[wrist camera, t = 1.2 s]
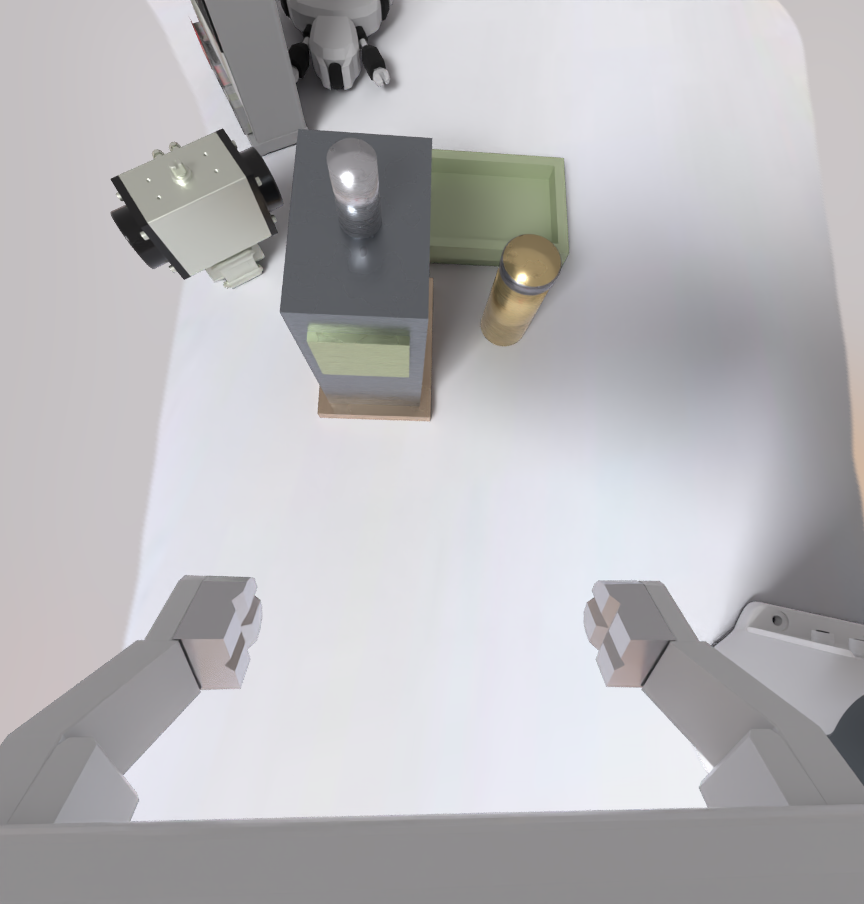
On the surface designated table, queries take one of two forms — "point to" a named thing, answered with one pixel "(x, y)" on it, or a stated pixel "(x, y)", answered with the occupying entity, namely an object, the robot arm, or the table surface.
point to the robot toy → (337, 39)
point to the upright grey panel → (252, 68)
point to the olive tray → (494, 204)
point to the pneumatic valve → (200, 209)
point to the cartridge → (519, 287)
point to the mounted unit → (362, 272)
